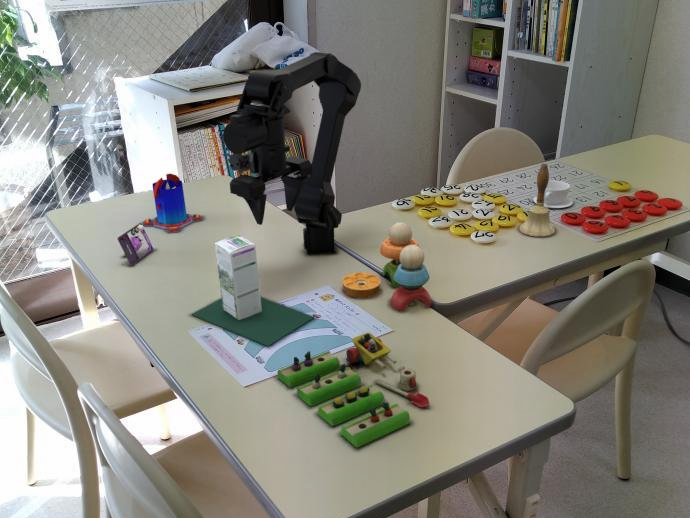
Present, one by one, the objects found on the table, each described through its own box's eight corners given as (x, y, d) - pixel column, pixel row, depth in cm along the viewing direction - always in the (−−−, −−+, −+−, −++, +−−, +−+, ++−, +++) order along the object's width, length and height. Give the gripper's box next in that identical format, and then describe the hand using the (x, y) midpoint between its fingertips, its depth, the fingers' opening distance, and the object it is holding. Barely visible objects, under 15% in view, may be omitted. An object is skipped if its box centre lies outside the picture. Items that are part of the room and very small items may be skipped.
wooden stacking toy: (333, 283, 155) (332, 227, 148) (407, 268, 161) (409, 213, 154) (370, 322, 141) (370, 262, 134) (449, 304, 147) (453, 245, 140)
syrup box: (263, 311, 144) (257, 242, 137) (237, 321, 141) (229, 251, 134) (246, 301, 148) (240, 233, 141) (221, 310, 145) (213, 241, 137)
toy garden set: (276, 378, 125) (274, 355, 123) (367, 342, 135) (367, 320, 132) (356, 448, 109) (356, 423, 107) (454, 403, 118) (455, 379, 116)
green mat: (191, 315, 144) (191, 314, 144) (239, 290, 153) (238, 289, 153) (268, 347, 134) (268, 345, 134) (314, 318, 143) (314, 317, 142)
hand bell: (516, 234, 175) (523, 168, 167) (522, 221, 182) (530, 157, 173) (552, 239, 173) (561, 172, 164) (557, 226, 179) (566, 161, 171)
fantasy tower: (174, 234, 178) (167, 185, 172) (138, 224, 184) (130, 177, 178) (206, 217, 187) (201, 171, 181) (171, 209, 192) (165, 163, 186)
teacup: (542, 193, 198) (544, 176, 196) (578, 200, 193) (581, 183, 191) (526, 204, 192) (528, 187, 189) (563, 212, 186) (566, 194, 184)
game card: (120, 237, 160) (143, 221, 168) (102, 241, 163) (125, 226, 170) (134, 265, 163) (156, 248, 170) (116, 269, 165) (139, 253, 173)
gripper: (271, 124, 154) (275, 196, 162) (205, 145, 142) (214, 222, 150) (312, 132, 149) (315, 207, 157) (248, 155, 136) (254, 235, 144)
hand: (274, 217), depth 152 cm, fingers open, 9 cm apart
